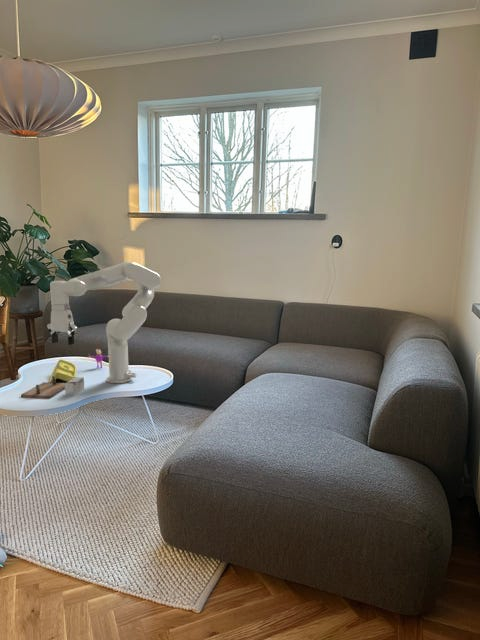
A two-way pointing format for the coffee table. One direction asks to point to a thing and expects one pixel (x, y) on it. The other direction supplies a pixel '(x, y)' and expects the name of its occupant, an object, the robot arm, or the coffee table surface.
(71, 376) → the plastic component
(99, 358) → the purple doll figure
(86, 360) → the coffee table surface
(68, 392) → the block
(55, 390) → the pin tray
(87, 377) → the coffee table surface
